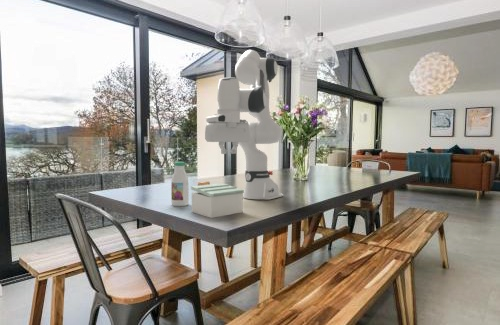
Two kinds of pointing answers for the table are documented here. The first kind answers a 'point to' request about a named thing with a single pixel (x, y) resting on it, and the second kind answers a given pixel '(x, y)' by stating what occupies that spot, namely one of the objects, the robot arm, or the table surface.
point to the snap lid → (216, 189)
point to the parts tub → (217, 204)
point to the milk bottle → (179, 186)
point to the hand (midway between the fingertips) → (228, 153)
